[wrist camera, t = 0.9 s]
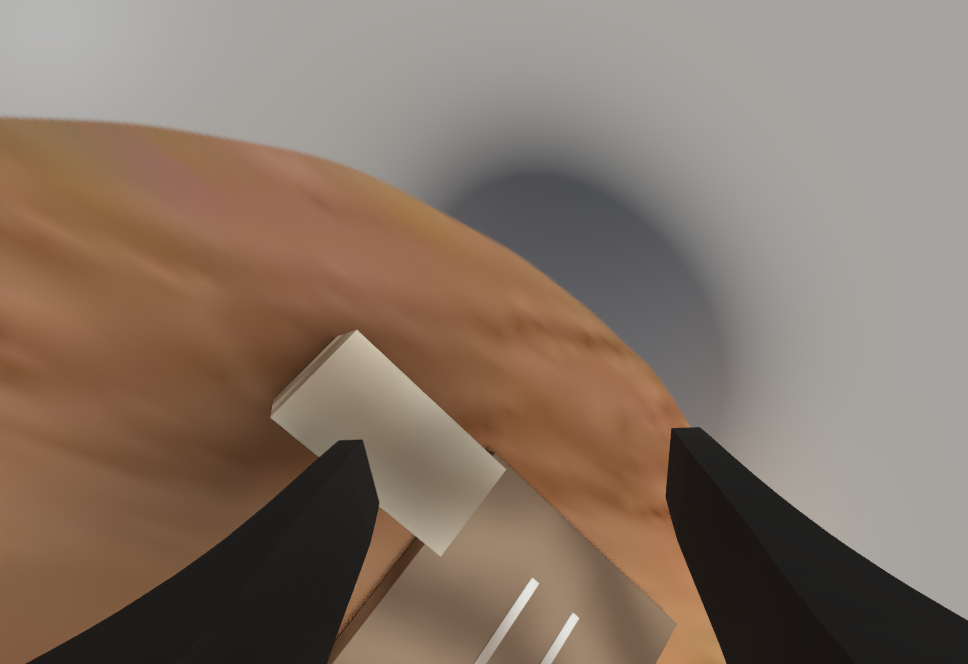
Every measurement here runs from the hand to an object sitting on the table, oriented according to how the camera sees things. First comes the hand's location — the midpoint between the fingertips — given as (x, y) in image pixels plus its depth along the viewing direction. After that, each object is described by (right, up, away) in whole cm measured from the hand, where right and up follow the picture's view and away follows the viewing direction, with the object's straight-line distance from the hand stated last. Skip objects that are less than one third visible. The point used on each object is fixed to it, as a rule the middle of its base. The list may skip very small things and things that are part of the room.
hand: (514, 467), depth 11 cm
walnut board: (0, -15, +14) cm, 21 cm away
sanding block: (-7, -1, +12) cm, 14 cm away
